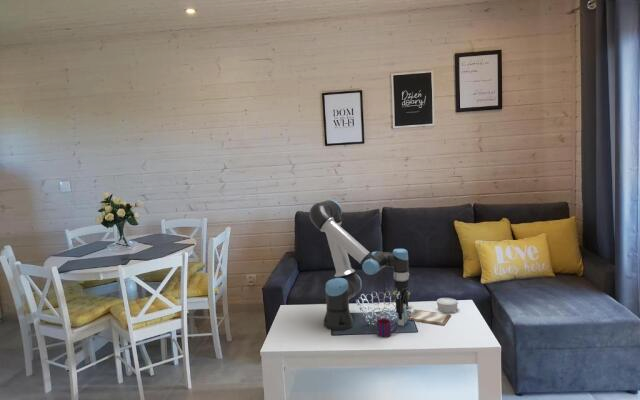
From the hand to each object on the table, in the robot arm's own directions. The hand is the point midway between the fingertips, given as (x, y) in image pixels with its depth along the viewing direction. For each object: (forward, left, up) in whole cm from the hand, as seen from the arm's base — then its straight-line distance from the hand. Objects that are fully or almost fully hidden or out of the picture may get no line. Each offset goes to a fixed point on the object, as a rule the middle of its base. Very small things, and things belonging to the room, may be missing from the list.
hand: (402, 323), depth 228 cm
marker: (0, 0, 0) cm, 0 cm away
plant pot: (-8, +22, -1) cm, 23 cm away
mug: (-2, -16, -1) cm, 16 cm away
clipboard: (+10, +13, 0) cm, 16 cm away
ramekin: (+16, +28, -1) cm, 32 cm away
